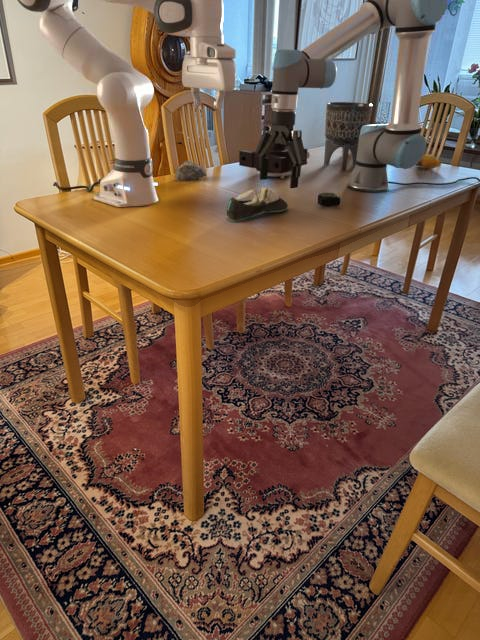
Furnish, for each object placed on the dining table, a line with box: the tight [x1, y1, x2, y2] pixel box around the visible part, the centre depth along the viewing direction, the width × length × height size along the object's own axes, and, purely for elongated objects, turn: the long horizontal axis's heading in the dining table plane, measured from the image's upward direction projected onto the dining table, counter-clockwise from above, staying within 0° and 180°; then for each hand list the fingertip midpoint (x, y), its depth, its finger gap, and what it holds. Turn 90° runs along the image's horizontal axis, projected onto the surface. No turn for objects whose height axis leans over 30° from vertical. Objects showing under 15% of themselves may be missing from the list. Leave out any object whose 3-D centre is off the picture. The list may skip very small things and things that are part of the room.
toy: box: [415, 154, 442, 170], centre depth 212 cm, size 11×6×15 cm
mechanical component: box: [238, 134, 311, 179], centre depth 191 cm, size 22×21×30 cm
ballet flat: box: [226, 186, 289, 223], centre depth 142 cm, size 8×24×8 cm, turn 131°
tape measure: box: [317, 192, 342, 208], centre depth 153 cm, size 7×7×4 cm
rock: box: [174, 160, 208, 182], centre depth 182 cm, size 13×9×6 cm, turn 131°
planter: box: [323, 101, 374, 172], centre depth 204 cm, size 20×20×26 cm
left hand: (207, 107), depth 128 cm, fingers open, 8 cm apart
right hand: (278, 183), depth 144 cm, fingers open, 13 cm apart
